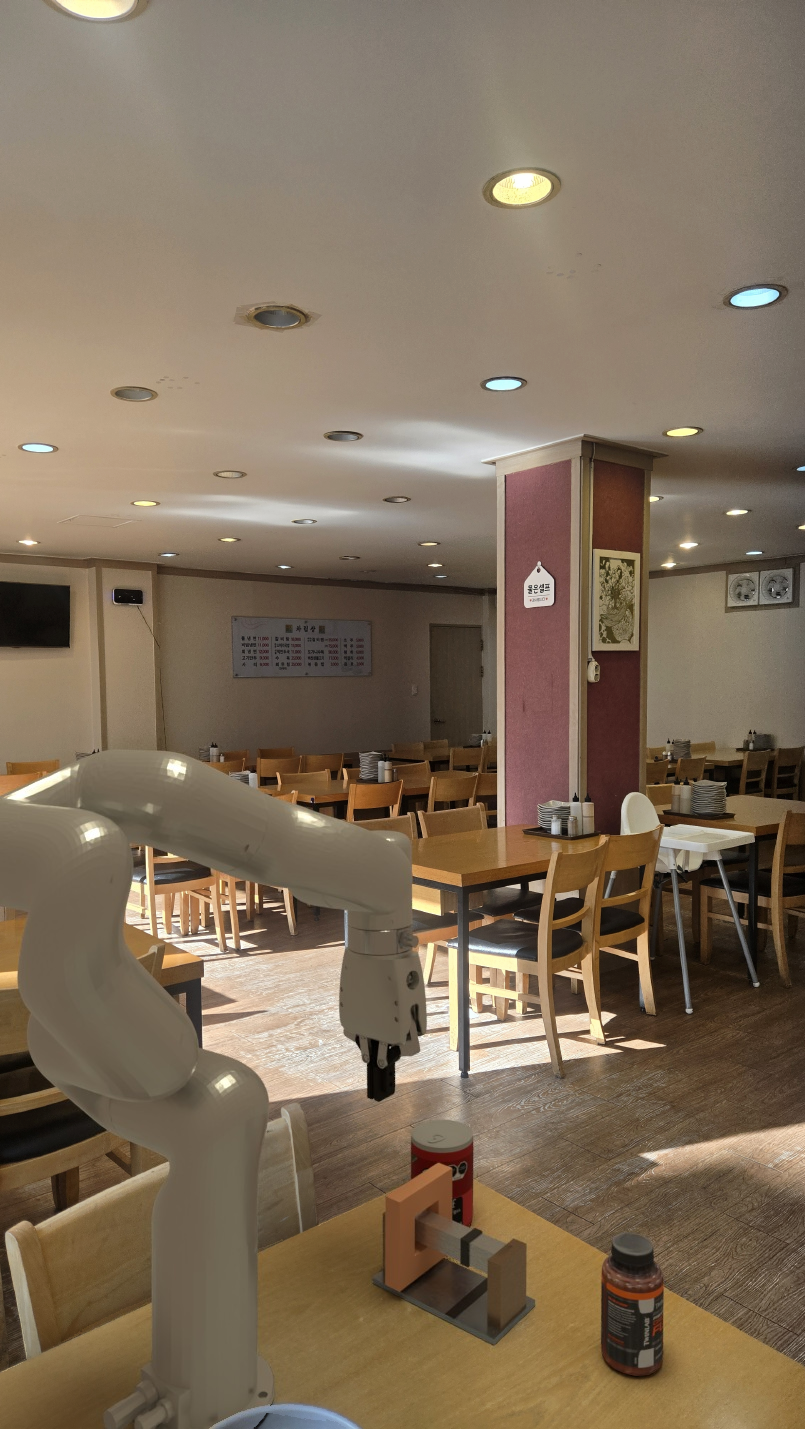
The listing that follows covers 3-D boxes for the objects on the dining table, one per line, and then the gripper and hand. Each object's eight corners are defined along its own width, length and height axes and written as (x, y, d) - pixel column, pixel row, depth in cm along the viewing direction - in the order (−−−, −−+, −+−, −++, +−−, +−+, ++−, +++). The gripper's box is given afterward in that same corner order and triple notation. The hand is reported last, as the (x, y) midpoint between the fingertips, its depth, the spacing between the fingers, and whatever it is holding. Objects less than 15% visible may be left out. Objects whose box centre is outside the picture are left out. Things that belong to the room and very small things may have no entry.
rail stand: (372, 1282, 103) (372, 1216, 103) (416, 1250, 109) (417, 1187, 109) (494, 1345, 93) (494, 1271, 93) (535, 1305, 99) (535, 1236, 99)
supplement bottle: (665, 1384, 88) (666, 1264, 88) (601, 1374, 89) (601, 1256, 89) (661, 1341, 94) (661, 1229, 94) (600, 1333, 95) (601, 1223, 95)
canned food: (401, 1230, 113) (401, 1140, 113) (424, 1198, 121) (425, 1114, 121) (460, 1244, 110) (460, 1152, 110) (481, 1211, 118) (481, 1124, 118)
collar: (385, 1284, 101) (385, 1196, 101) (438, 1244, 108) (438, 1162, 108) (399, 1291, 100) (399, 1202, 100) (452, 1251, 107) (452, 1167, 107)
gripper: (451, 942, 106) (452, 1102, 106) (353, 923, 115) (354, 1070, 116) (410, 957, 100) (411, 1126, 100) (310, 935, 109) (312, 1090, 110)
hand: (381, 1095), depth 108 cm, fingers closed
